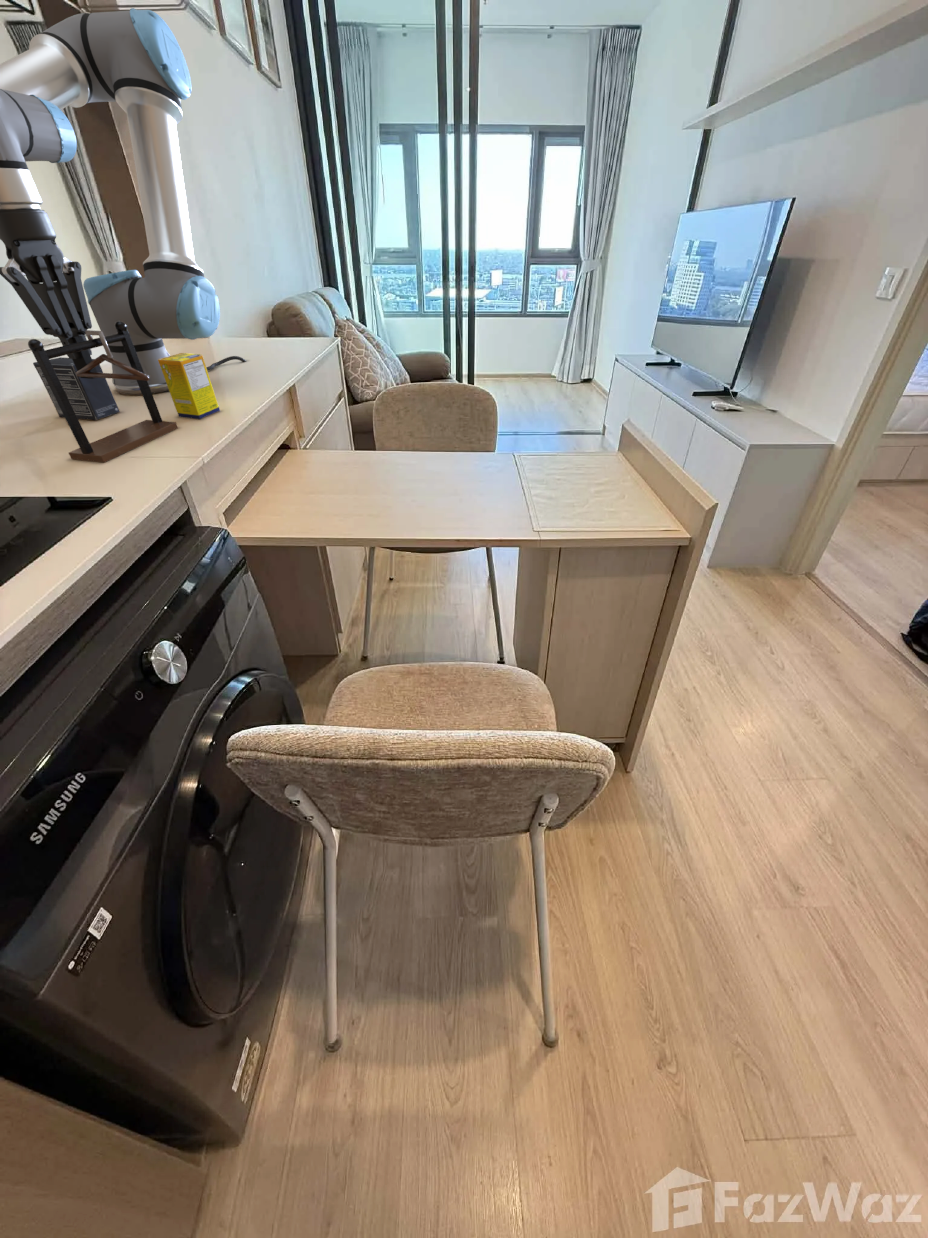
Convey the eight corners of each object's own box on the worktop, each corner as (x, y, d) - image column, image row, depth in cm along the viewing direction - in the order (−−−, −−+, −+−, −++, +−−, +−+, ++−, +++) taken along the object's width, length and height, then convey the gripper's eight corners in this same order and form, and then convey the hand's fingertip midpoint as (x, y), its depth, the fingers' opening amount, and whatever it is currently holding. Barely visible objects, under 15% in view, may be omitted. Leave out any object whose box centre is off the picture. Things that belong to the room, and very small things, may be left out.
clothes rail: (149, 425, 101) (106, 319, 89) (178, 428, 99) (139, 320, 88) (71, 459, 87) (9, 339, 76) (103, 462, 85) (45, 340, 74)
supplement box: (199, 408, 109) (180, 352, 102) (220, 411, 107) (203, 353, 100) (177, 416, 105) (156, 358, 98) (200, 419, 103) (180, 360, 96)
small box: (122, 411, 108) (99, 357, 102) (97, 421, 103) (71, 365, 97) (85, 408, 111) (60, 355, 104) (58, 417, 106) (30, 362, 100)
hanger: (80, 375, 90) (59, 328, 86) (151, 380, 87) (132, 331, 82) (76, 377, 90) (54, 329, 85) (147, 381, 86) (128, 332, 82)
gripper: (35, 208, 82) (102, 368, 97) (-48, 208, 72) (41, 385, 87) (71, 207, 80) (134, 369, 95) (-8, 206, 71) (76, 387, 85)
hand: (90, 377), depth 91 cm, fingers closed
